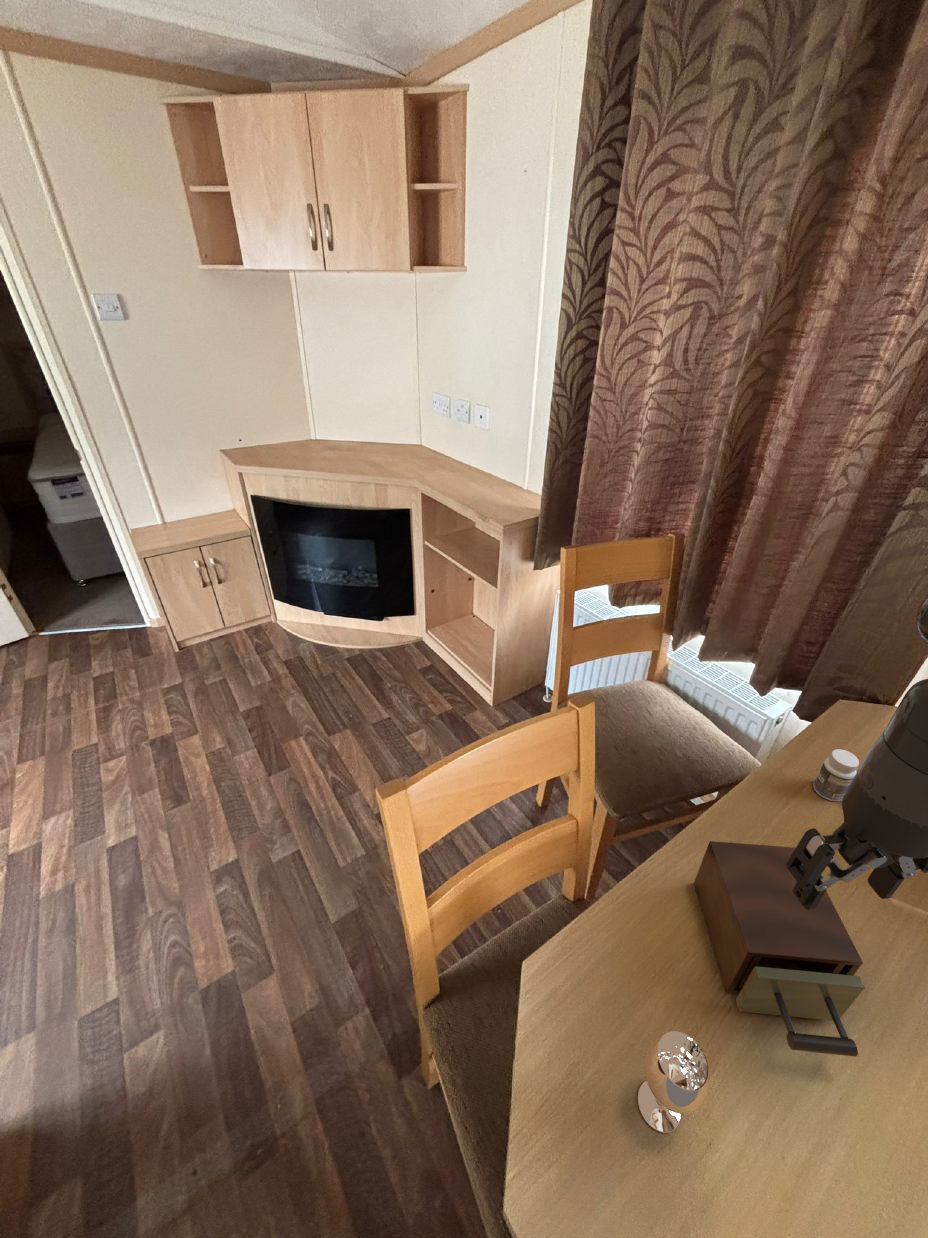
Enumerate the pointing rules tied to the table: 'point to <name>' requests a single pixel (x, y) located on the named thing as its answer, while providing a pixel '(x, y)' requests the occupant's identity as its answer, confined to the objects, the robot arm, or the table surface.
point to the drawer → (801, 998)
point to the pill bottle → (836, 775)
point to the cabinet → (764, 913)
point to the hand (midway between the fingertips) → (840, 895)
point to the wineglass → (672, 1081)
